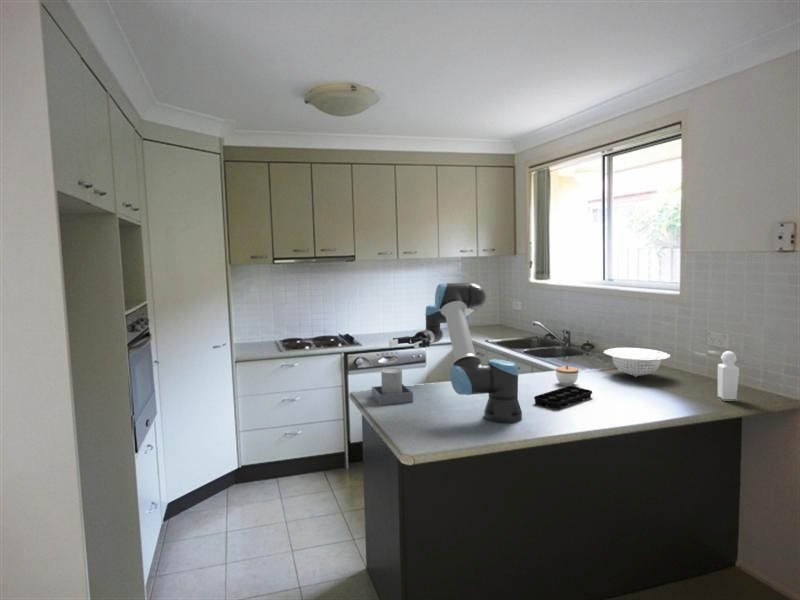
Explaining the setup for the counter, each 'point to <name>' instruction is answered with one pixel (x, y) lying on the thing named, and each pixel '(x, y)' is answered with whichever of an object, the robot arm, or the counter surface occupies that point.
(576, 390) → the egg carton
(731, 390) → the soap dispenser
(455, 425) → the counter surface
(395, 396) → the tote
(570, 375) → the lidded jar
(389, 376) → the gray cylinder
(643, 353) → the colander
